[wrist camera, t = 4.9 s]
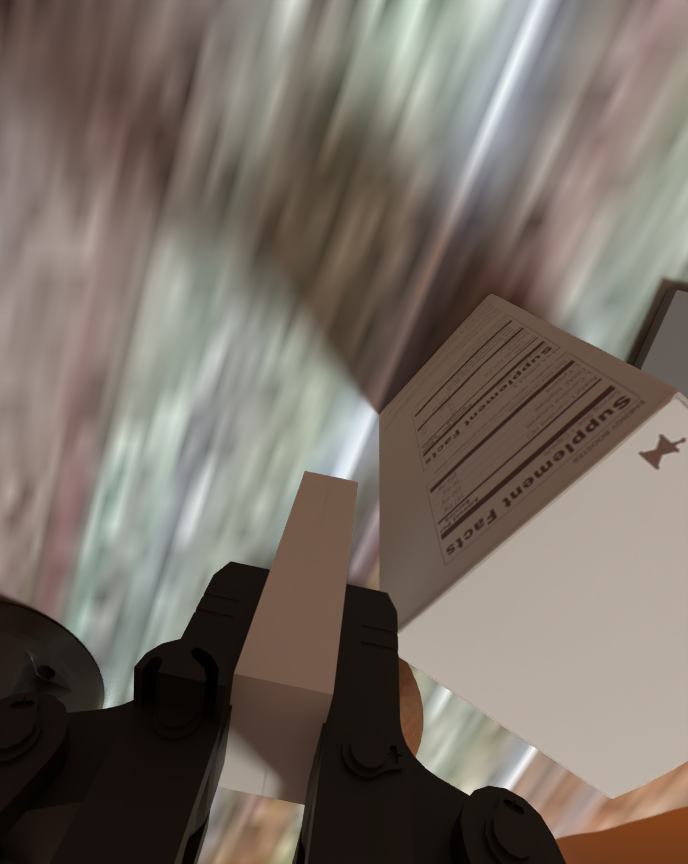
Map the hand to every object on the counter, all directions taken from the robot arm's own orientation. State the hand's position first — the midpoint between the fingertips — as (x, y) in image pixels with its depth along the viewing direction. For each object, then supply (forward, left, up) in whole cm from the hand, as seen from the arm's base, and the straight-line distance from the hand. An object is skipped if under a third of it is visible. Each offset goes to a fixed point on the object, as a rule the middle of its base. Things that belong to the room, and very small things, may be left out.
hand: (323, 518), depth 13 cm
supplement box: (0, -8, -15) cm, 17 cm away
